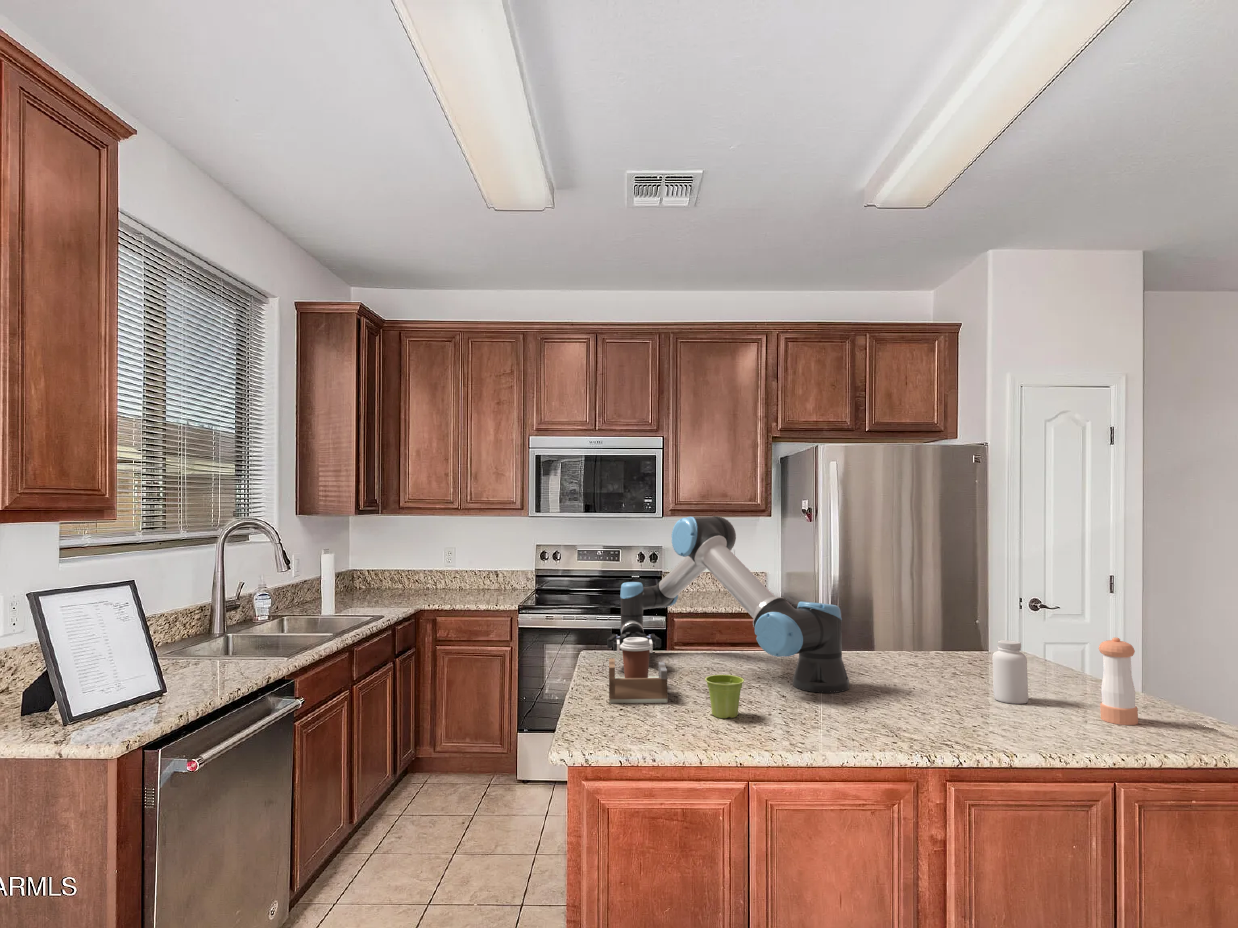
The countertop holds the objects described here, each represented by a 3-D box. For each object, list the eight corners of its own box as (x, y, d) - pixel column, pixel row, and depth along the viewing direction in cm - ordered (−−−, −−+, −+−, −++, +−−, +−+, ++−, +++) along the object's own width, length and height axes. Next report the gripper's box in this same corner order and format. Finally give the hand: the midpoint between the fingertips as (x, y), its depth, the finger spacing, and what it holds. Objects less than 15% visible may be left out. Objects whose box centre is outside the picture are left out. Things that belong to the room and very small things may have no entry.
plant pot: (750, 713, 184) (749, 677, 184) (735, 723, 176) (735, 685, 176) (714, 707, 189) (714, 672, 189) (699, 717, 180) (698, 680, 181)
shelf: (609, 680, 218) (609, 648, 218) (661, 679, 218) (660, 648, 219) (609, 703, 194) (609, 667, 194) (667, 702, 194) (667, 667, 194)
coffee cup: (653, 678, 215) (652, 636, 216) (651, 686, 206) (651, 642, 207) (621, 678, 216) (621, 636, 217) (618, 685, 207) (618, 642, 208)
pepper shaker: (1139, 726, 170) (1135, 641, 171) (1100, 722, 174) (1097, 638, 175) (1137, 718, 177) (1134, 636, 177) (1100, 714, 180) (1097, 633, 181)
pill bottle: (1027, 698, 195) (1025, 639, 196) (1029, 706, 188) (1027, 645, 189) (993, 695, 199) (991, 637, 199) (994, 702, 191) (992, 643, 192)
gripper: (666, 645, 244) (671, 660, 221) (599, 646, 244) (598, 661, 221) (666, 622, 244) (671, 635, 222) (599, 623, 244) (597, 635, 222)
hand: (634, 648), depth 222 cm, fingers open, 9 cm apart
